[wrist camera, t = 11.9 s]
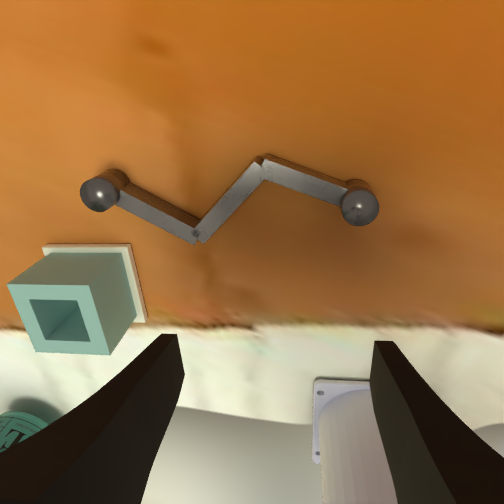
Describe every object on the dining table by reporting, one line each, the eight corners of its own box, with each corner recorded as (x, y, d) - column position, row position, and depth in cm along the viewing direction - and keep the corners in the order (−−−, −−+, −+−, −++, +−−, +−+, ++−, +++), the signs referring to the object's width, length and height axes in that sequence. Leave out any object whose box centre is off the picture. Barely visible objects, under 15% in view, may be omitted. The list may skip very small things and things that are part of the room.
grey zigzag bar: (366, 234, 21) (374, 252, 19) (115, 236, 23) (96, 253, 21) (374, 149, 19) (384, 159, 16) (95, 160, 21) (72, 169, 19)
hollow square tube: (137, 315, 25) (110, 355, 22) (72, 313, 26) (35, 351, 22) (121, 252, 23) (88, 285, 19) (50, 252, 24) (6, 284, 20)
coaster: (147, 318, 26) (145, 322, 25) (72, 316, 27) (68, 320, 26) (130, 243, 23) (127, 247, 23) (46, 244, 24) (41, 247, 23)
